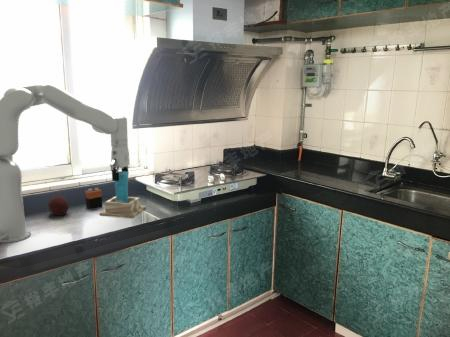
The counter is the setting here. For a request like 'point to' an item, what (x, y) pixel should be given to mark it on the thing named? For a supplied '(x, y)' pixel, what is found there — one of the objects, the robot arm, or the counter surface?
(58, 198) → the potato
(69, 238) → the counter surface
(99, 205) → the battery
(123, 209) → the socket block
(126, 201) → the tube
